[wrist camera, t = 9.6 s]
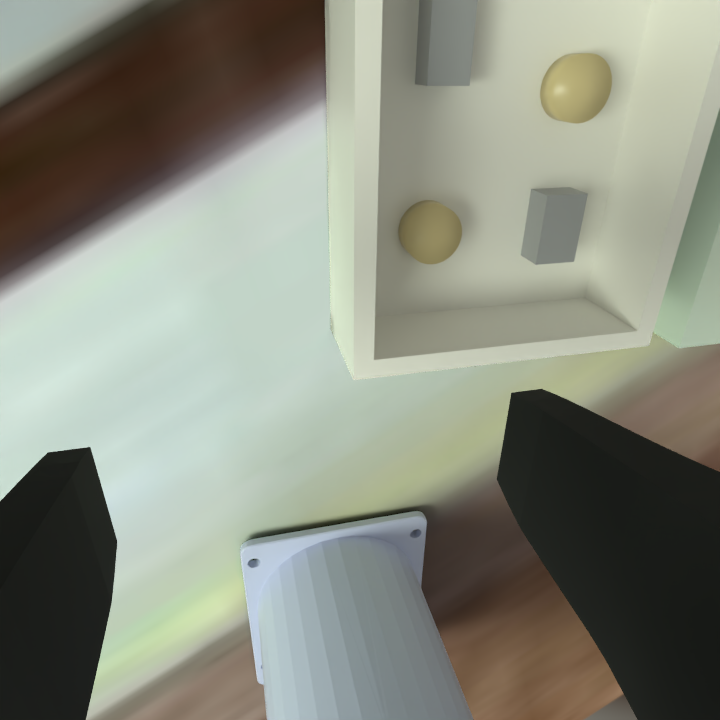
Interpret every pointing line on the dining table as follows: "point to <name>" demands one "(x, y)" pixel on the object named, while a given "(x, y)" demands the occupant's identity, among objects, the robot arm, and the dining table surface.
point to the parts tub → (509, 173)
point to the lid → (697, 264)
